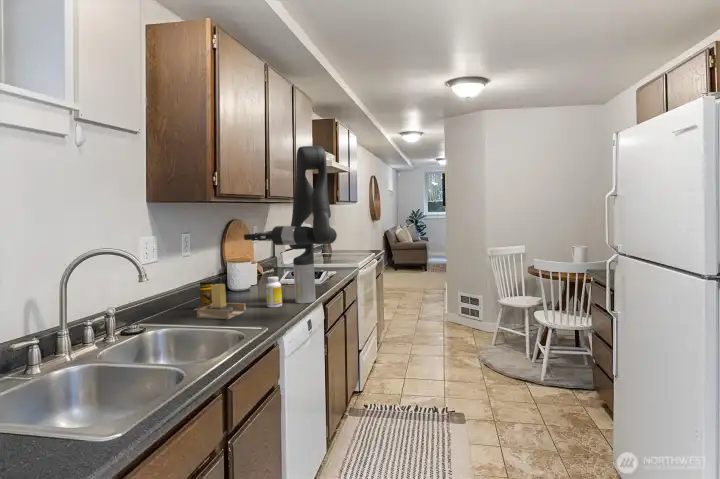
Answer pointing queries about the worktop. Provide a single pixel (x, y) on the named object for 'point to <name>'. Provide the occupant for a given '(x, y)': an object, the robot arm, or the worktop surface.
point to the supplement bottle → (273, 292)
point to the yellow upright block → (218, 297)
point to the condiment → (205, 294)
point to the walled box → (221, 311)
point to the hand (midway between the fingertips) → (249, 236)
